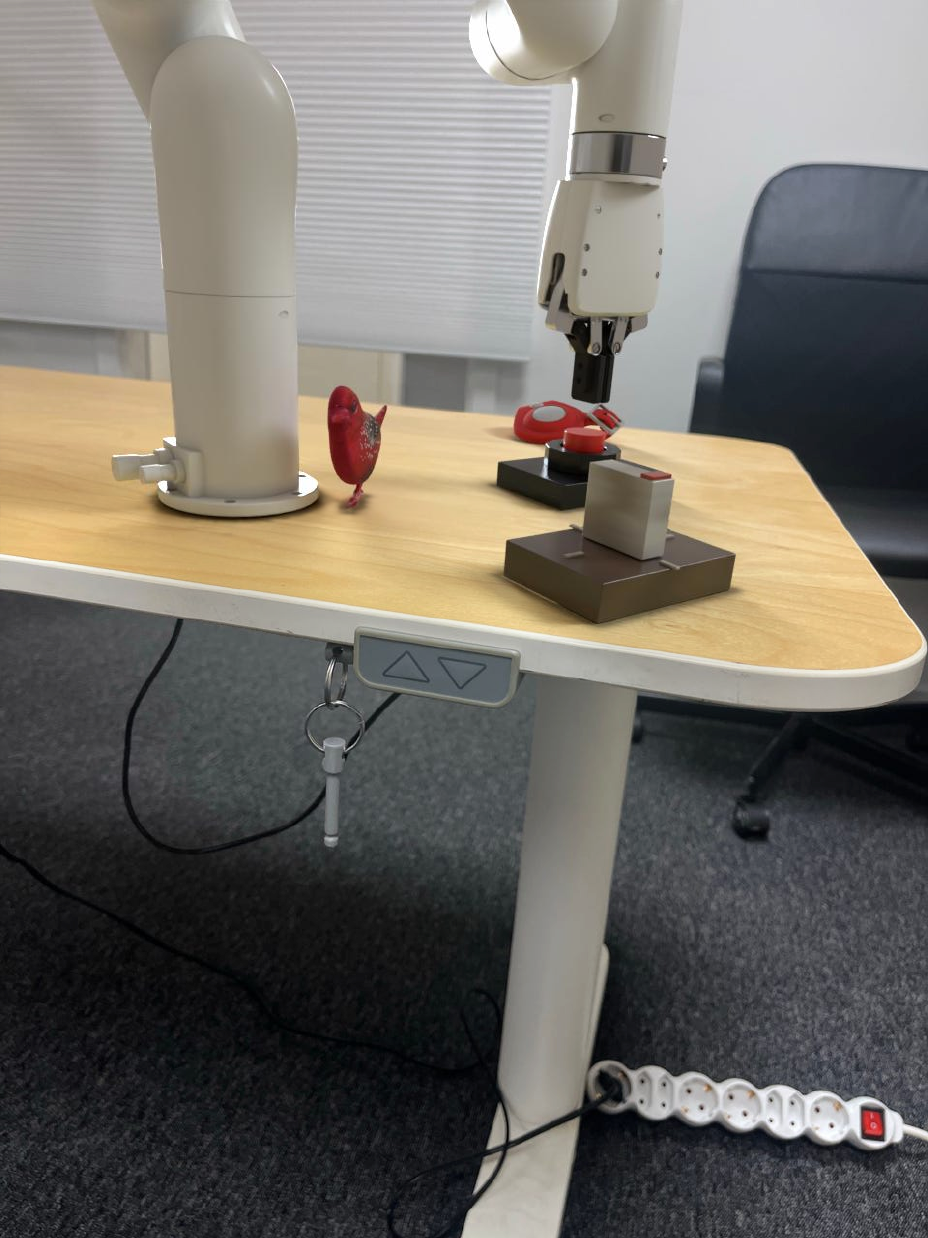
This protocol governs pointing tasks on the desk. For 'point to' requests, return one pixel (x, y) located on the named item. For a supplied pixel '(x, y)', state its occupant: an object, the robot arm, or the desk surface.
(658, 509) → the grey rectangular block
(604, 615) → the brown flat block
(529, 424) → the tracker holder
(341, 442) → the decorative bird figurine
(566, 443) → the button
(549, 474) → the button box
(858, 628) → the desk surface
